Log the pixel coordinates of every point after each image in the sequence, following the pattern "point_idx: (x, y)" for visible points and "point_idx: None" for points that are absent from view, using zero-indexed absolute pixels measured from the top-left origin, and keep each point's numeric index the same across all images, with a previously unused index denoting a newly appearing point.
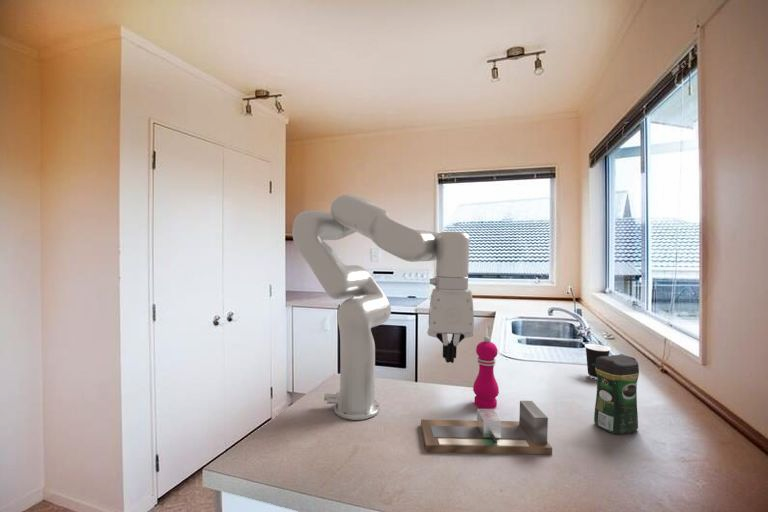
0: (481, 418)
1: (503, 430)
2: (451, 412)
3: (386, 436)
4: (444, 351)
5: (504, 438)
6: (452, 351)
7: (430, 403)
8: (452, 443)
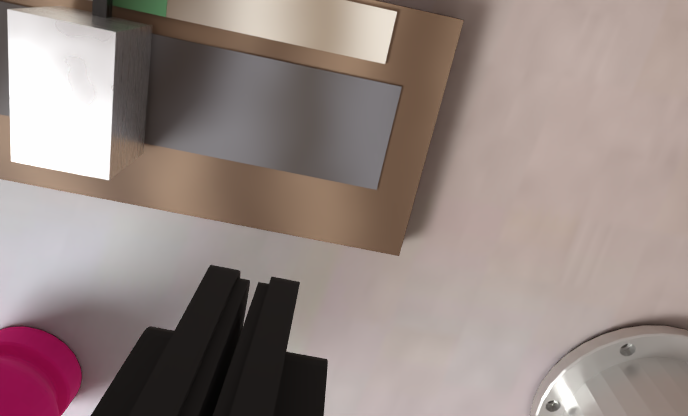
0: (118, 82)
1: None
2: None
3: (586, 178)
4: (313, 412)
5: None
6: (191, 358)
7: None
8: (329, 6)
